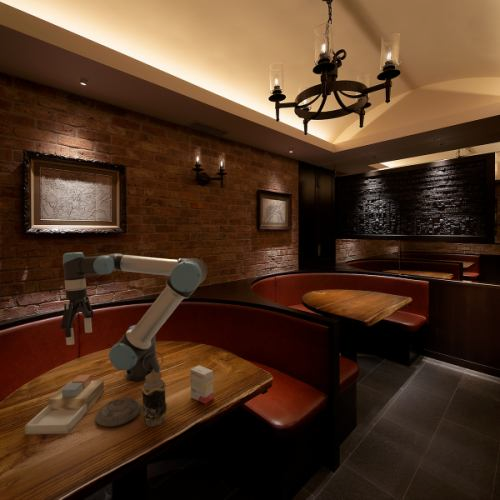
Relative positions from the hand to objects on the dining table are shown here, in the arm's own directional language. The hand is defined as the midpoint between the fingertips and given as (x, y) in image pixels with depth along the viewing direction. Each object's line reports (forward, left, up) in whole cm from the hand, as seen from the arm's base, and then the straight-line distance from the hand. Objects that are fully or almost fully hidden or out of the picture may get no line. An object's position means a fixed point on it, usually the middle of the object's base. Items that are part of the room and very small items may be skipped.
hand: (80, 338), depth 121 cm
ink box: (-53, +9, -22) cm, 58 cm away
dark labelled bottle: (-38, +22, -22) cm, 49 cm away
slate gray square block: (-4, +13, -17) cm, 22 cm away
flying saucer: (-24, +19, -22) cm, 38 cm away
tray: (-4, +22, -22) cm, 32 cm away
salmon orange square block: (-4, +7, -17) cm, 19 cm away
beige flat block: (-4, +10, -22) cm, 25 cm away
